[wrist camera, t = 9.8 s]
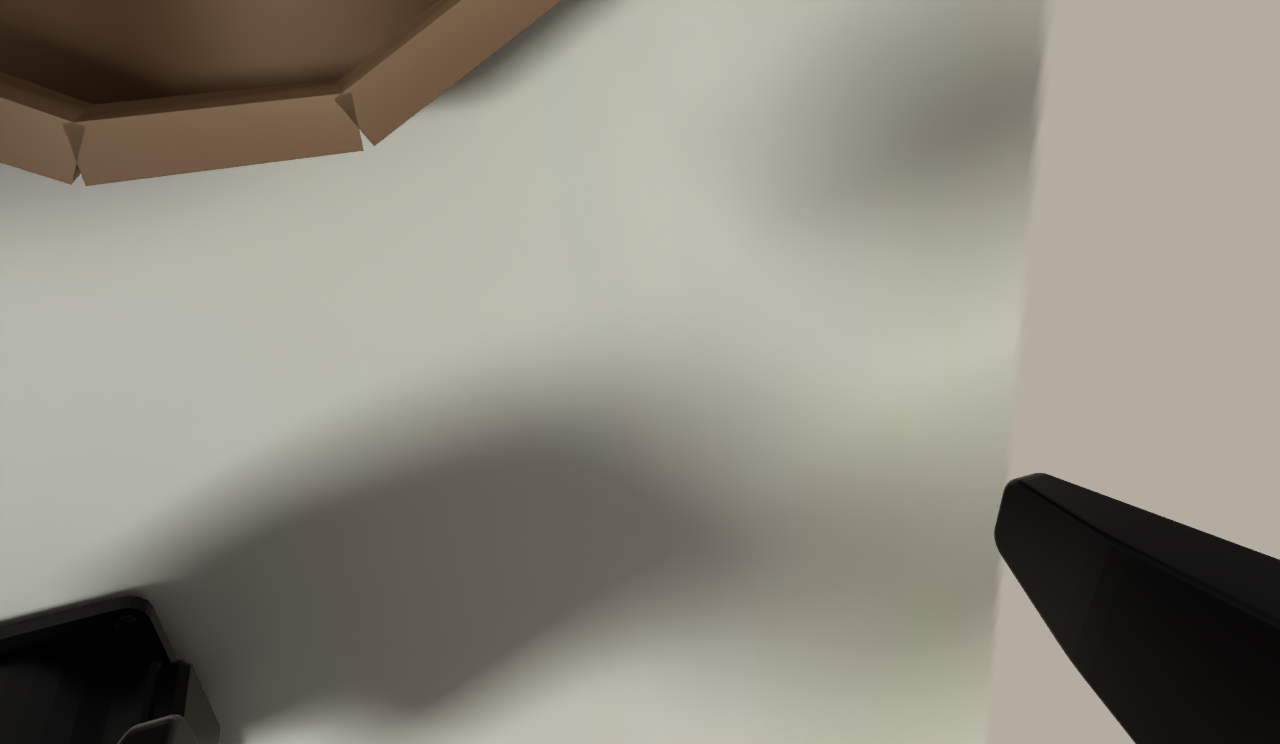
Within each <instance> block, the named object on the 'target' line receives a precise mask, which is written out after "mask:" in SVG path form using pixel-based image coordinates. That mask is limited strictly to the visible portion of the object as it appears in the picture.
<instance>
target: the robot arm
mask: <svg viewBox="0 0 1280 744" xmlns="http://www.w3.org/2000/svg"><path fill="white" fill-rule="evenodd" d="M994 538H995V542H996V546H997V548H998V550H999V552H1000V554H1001V556H1002V557H1003V559H1004V560H1005V562H1006V563H1007V565H1008V566H1009V568H1010V569H1011V571H1012V573H1013V574H1014V575H1015V577H1016V579H1017V580H1018V582H1019V583H1020V585H1021V586H1022V588H1023V589H1024V591H1025V592H1026V594H1027V595H1028V597H1029V599H1030V600H1031V602H1032V603H1033V605H1034V606H1035V608H1036V609H1037V611H1038V612H1039V614H1040V616H1041V617H1042V618H1043V620H1044V622H1045V623H1046V625H1047V626H1048V627H1049V629H1050V631H1051V632H1052V634H1053V635H1054V637H1055V639H1056V640H1057V642H1058V643H1059V645H1060V646H1061V648H1062V649H1063V650H1064V652H1065V653H1066V655H1067V656H1068V658H1069V659H1070V660H1071V662H1072V663H1073V665H1074V666H1075V667H1076V668H1077V670H1078V671H1079V673H1080V674H1081V675H1082V676H1083V678H1084V679H1085V680H1086V681H1087V683H1088V684H1089V685H1090V687H1091V688H1092V689H1093V690H1094V692H1095V693H1096V694H1097V696H1098V697H1099V698H1100V699H1101V701H1102V702H1103V703H1104V704H1105V706H1106V707H1107V708H1108V709H1109V711H1110V712H1111V713H1112V714H1113V716H1114V717H1115V718H1116V720H1117V721H1118V722H1119V723H1120V724H1121V726H1122V727H1123V728H1124V730H1125V731H1126V732H1127V733H1128V735H1129V736H1130V737H1131V738H1132V740H1133V741H1134V742H1135V743H1136V744H1280V560H1279V559H1276V558H1273V557H1271V556H1268V555H1265V554H1262V553H1260V552H1257V551H1254V550H1252V549H1249V548H1246V547H1243V546H1240V545H1238V544H1235V543H1233V542H1230V541H1227V540H1224V539H1222V538H1219V537H1216V536H1214V535H1211V534H1208V533H1205V532H1203V531H1200V530H1197V529H1195V528H1192V527H1189V526H1186V525H1183V524H1181V523H1178V522H1176V521H1173V520H1170V519H1167V518H1165V517H1162V516H1159V515H1156V514H1154V513H1151V512H1148V511H1146V510H1143V509H1140V508H1138V507H1135V506H1132V505H1129V504H1127V503H1124V502H1121V501H1119V500H1116V499H1113V498H1110V497H1108V496H1105V495H1102V494H1099V493H1097V492H1094V491H1091V490H1089V489H1086V488H1083V487H1080V486H1078V485H1075V484H1072V483H1070V482H1067V481H1064V480H1062V479H1059V478H1056V477H1053V476H1050V475H1048V474H1044V473H1034V474H1031V475H1027V476H1023V477H1020V478H1016V479H1013V480H1011V481H1009V483H1008V484H1007V485H1006V486H1005V489H1004V492H1003V496H1002V500H1001V504H1000V508H999V513H998V517H997V521H996V525H995V530H994ZM122 616H132V617H135V618H136V619H135V620H130V621H126V620H123V619H121V618H120V617H122ZM219 732H220V727H219V724H218V721H217V719H216V717H215V715H214V713H213V710H212V708H211V706H210V704H209V702H208V699H207V697H206V695H205V693H204V690H203V688H202V686H201V684H200V682H199V679H198V677H197V675H196V673H195V671H194V668H193V666H192V665H191V664H189V663H187V662H186V661H184V660H178V661H177V658H176V656H175V654H174V652H173V650H172V648H171V645H170V643H169V641H168V639H167V637H166V635H165V632H164V630H163V628H162V626H161V624H160V622H159V619H158V617H157V615H156V613H155V611H154V609H153V606H152V605H151V604H150V603H149V602H148V601H147V600H145V599H143V598H141V597H134V596H128V597H121V598H117V599H113V600H109V601H105V602H101V603H97V604H93V605H89V606H85V607H81V608H77V609H74V610H70V611H66V612H62V613H58V614H54V615H50V616H46V617H42V618H38V619H34V620H30V621H26V622H22V623H18V624H14V625H10V626H6V627H2V628H0V744H218V743H219Z"/></svg>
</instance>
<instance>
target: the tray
mask: <svg viewBox="0 0 1280 744" xmlns="http://www.w3.org/2000/svg"><path fill="white" fill-rule="evenodd" d="M560 1H561V0H0V162H1V163H4V164H7V165H10V166H14V167H17V168H20V169H23V170H26V171H30V172H33V173H36V174H39V175H42V176H46V177H49V178H52V179H55V180H58V181H62V182H65V183H68V184H72V183H73V182H74V181H75V179H76V178H77V177H78V176H79V175H80V173H81V174H82V177H83V180H84V182H85V185H86V186H89V185H97V184H105V183H113V182H121V181H128V180H136V179H144V178H152V177H160V176H168V175H175V174H183V173H191V172H199V171H207V170H215V169H223V168H230V167H238V166H246V165H254V164H262V163H270V162H277V161H285V160H293V159H301V158H309V157H317V156H324V155H332V154H340V153H348V152H356V151H364V150H363V146H362V141H361V136H360V131H359V129H360V130H361V131H362V133H363V134H364V135H365V136H366V137H367V138H368V140H369V141H370V142H371V143H372V144H373V145H374V146H375V145H376V144H378V143H379V142H380V141H381V140H383V139H384V138H385V137H387V136H388V135H389V134H390V133H392V132H393V131H394V130H396V129H397V128H398V127H399V126H401V125H402V124H403V123H405V122H406V121H407V120H408V119H410V118H411V117H412V116H414V115H415V114H416V113H417V112H419V111H420V110H421V109H423V108H424V107H425V106H426V105H428V104H429V103H430V102H432V101H433V100H434V99H435V98H437V97H438V96H439V95H441V94H442V93H443V92H444V91H446V90H447V89H448V88H450V87H451V86H452V85H453V84H455V83H456V82H457V81H459V80H460V79H461V78H462V77H464V76H465V75H466V74H468V73H469V72H470V71H471V70H473V69H474V68H475V67H477V66H478V65H479V64H480V63H482V62H483V61H484V60H486V59H487V58H488V57H489V56H491V55H492V54H493V53H495V52H496V51H497V50H498V49H500V48H501V47H502V46H504V45H505V44H506V43H507V42H509V41H510V40H511V39H513V38H514V37H515V36H516V35H518V34H519V33H520V32H521V31H523V30H524V29H525V28H527V27H528V26H529V25H530V24H532V23H533V22H534V21H536V20H537V19H538V18H539V17H541V16H542V15H543V14H545V13H546V12H547V11H548V10H550V9H551V8H552V7H554V6H555V5H556V4H557V3H559V2H560Z"/></svg>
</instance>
